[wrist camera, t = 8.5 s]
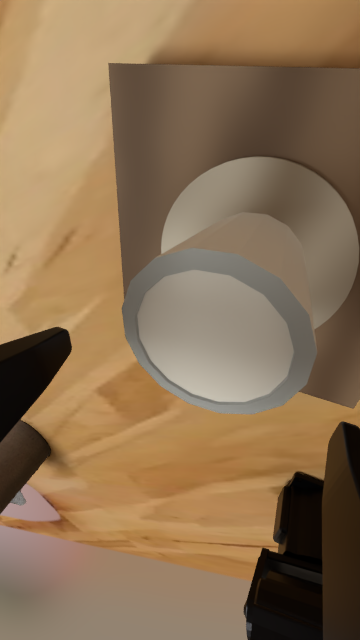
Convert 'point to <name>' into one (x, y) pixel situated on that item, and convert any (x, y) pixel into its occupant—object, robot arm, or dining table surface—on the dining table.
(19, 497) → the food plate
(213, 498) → the dining table surface
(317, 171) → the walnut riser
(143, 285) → the white cup
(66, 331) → the robot arm
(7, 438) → the pillar candle
